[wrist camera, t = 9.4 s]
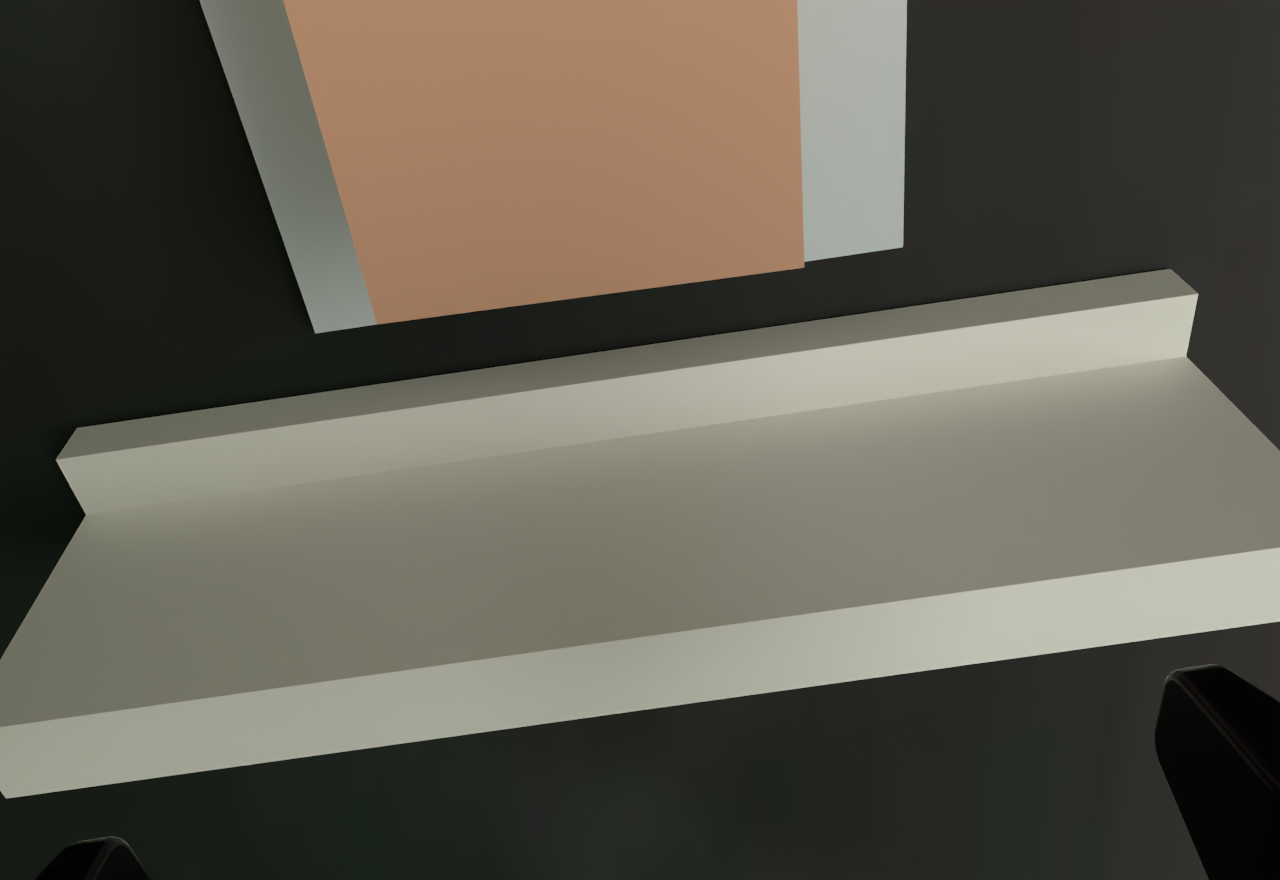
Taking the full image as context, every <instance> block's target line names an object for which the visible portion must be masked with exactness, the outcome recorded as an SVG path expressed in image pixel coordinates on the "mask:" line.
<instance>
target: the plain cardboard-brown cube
mask: <svg viewBox="0 0 1280 880" xmlns="http://www.w3.org/2000/svg"><path fill="white" fill-rule="evenodd" d="M283 2H284V6H285V9H286V12H287V16H288V19H289V23H290V26H291V30H292V33H293V37H294V40H295V43H296V47H297V50H298V54H299V57H300V61H301V64H302V68H303V71H304V74H305V78H306V81H307V85H308V88H309V92H310V95H311V98H312V102H313V105H314V109H315V112H316V116H317V119H318V123H319V126H320V129H321V133H322V136H323V140H324V143H325V147H326V150H327V154H328V157H329V160H330V164H331V167H332V171H333V174H334V178H335V181H336V184H337V188H338V191H339V195H340V198H341V202H342V205H343V209H344V212H345V215H346V219H347V222H348V226H349V229H350V233H351V236H352V240H353V243H354V246H355V250H356V253H357V257H358V260H359V264H360V267H361V270H362V274H363V277H364V281H365V284H366V288H367V291H368V295H369V298H370V301H371V305H372V308H373V312H374V315H375V319H376V322H377V324H385V323H392V322H400V321H407V320H415V319H422V318H430V317H437V316H445V315H452V314H460V313H467V312H475V311H482V310H490V309H497V308H505V307H512V306H520V305H527V304H535V303H542V302H550V301H557V300H565V299H572V298H580V297H587V296H595V295H602V294H610V293H617V292H625V291H632V290H640V289H647V288H655V287H662V286H670V285H677V284H685V283H692V282H700V281H707V280H715V279H722V278H730V277H737V276H745V275H752V274H760V273H768V272H775V271H783V270H790V269H798V268H804V234H803V197H802V159H801V122H800V85H799V48H798V11H797V0H283Z"/></svg>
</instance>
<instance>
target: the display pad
mask: <svg viewBox="0 0 1280 880" xmlns="http://www.w3.org/2000/svg"><path fill="white" fill-rule="evenodd" d="M199 1H200V3H201V6H202V9H203V12H204V15H205V18H206V21H207V24H208V26H209V29H210V32H211V35H212V38H213V41H214V44H215V47H216V49H217V52H218V55H219V58H220V61H221V64H222V67H223V69H224V72H225V75H226V78H227V81H228V84H229V87H230V90H231V92H232V95H233V98H234V101H235V104H236V107H237V110H238V113H239V115H240V118H241V121H242V124H243V127H244V130H245V133H246V136H247V138H248V141H249V144H250V147H251V150H252V153H253V156H254V159H255V161H256V164H257V167H258V170H259V173H260V176H261V179H262V182H263V184H264V187H265V190H266V193H267V196H268V199H269V202H270V205H271V207H272V210H273V213H274V216H275V219H276V222H277V225H278V228H279V230H280V233H281V236H282V239H283V242H284V245H285V248H286V251H287V253H288V256H289V259H290V262H291V265H292V268H293V271H294V274H295V276H296V279H297V282H298V285H299V288H300V291H301V294H302V297H303V299H304V302H305V305H306V308H307V311H308V314H309V317H310V320H311V322H312V325H313V328H314V331H315V333H322V332H329V331H335V330H342V329H349V328H356V327H363V326H369V325H376V324H377V322H376V319H375V315H374V312H373V308H372V305H371V301H370V298H369V295H368V291H367V288H366V284H365V281H364V277H363V274H362V270H361V267H360V264H359V260H358V257H357V253H356V250H355V246H354V243H353V240H352V236H351V233H350V229H349V226H348V222H347V219H346V215H345V212H344V209H343V205H342V202H341V198H340V195H339V191H338V188H337V184H336V181H335V178H334V174H333V171H332V167H331V164H330V160H329V157H328V154H327V150H326V147H325V143H324V140H323V136H322V133H321V129H320V126H319V123H318V119H317V116H316V112H315V109H314V105H313V102H312V98H311V95H310V92H309V88H308V85H307V81H306V78H305V74H304V71H303V68H302V64H301V61H300V57H299V54H298V50H297V47H296V43H295V40H294V37H293V33H292V30H291V26H290V23H289V19H288V16H287V12H286V9H285V6H284V2H283V0H199ZM797 11H798V48H799V85H800V122H801V159H802V197H803V234H804V262H806V261H812V260H819V259H826V258H833V257H840V256H846V255H853V254H860V253H867V252H874V251H880V250H887V249H894V248H901V247H903V220H904V156H905V91H906V26H907V0H797Z"/></svg>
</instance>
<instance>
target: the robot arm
mask: <svg viewBox="0 0 1280 880" xmlns="http://www.w3.org/2000/svg"><path fill="white" fill-rule="evenodd" d="M1155 747H1156V752H1157V756H1158V759H1159V762H1160V765H1161V767H1162V769H1163V772H1164V774H1165V777H1166V779H1167V781H1168V784H1169V786H1170V788H1171V791H1172V793H1173V796H1174V798H1175V800H1176V803H1177V805H1178V807H1179V810H1180V812H1181V814H1182V817H1183V819H1184V822H1185V824H1186V826H1187V829H1188V831H1189V833H1190V836H1191V838H1192V841H1193V843H1194V845H1195V848H1196V850H1197V852H1198V855H1199V857H1200V860H1201V862H1202V864H1203V867H1204V869H1205V871H1206V874H1207V876H1208V879H1209V880H1280V701H1278V700H1277V699H1275V698H1274V697H1272V696H1271V695H1269V694H1267V693H1266V692H1264V691H1263V690H1261V689H1260V688H1258V687H1257V686H1255V685H1253V684H1252V683H1250V682H1249V681H1247V680H1246V679H1244V678H1242V677H1241V676H1239V675H1238V674H1236V673H1235V672H1233V671H1231V670H1230V669H1228V668H1226V667H1223V666H1220V665H1216V664H1208V665H1202V666H1196V667H1189V668H1183V669H1177V670H1174V671H1172V672H1171V673H1170V674H1169V675H1168V676H1167V677H1166V680H1165V683H1164V687H1163V693H1162V698H1161V703H1160V708H1159V713H1158V718H1157V724H1156V729H1155ZM35 880H152V878H151V877H150V876H149V874H148V873H147V871H146V870H145V868H144V867H143V865H142V864H141V862H140V861H139V859H138V858H137V856H136V855H135V854H134V852H133V851H132V849H131V848H130V846H129V845H128V844H127V842H126V841H125V840H123V839H121V838H119V837H115V836H110V837H104V838H98V839H91V840H85V841H79V842H76V843H73V844H71V845H69V846H68V847H66V848H65V849H64V850H62V851H61V852H60V853H59V854H58V855H57V856H56V857H55V858H54V859H53V860H52V862H51V863H50V864H49V865H48V866H47V867H46V868H45V869H44V870H43V871H42V872H41V873H40V874H39V875H38V877H37V878H36V879H35Z"/></svg>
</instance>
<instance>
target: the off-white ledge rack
mask: <svg viewBox="0 0 1280 880" xmlns="http://www.w3.org/2000/svg"><path fill="white" fill-rule="evenodd" d="M1197 298H1198V293H1197V292H1196V291H1195V290H1193V289H1192V288H1191V287H1190V286H1189V285H1188V284H1187V283H1186V282H1185V281H1183V280H1182V279H1181V278H1180V277H1179V276H1178V275H1177V274H1176V273H1174V272H1173V271H1172V270H1171V269H1165V270H1158V271H1151V272H1144V273H1137V274H1131V275H1124V276H1117V277H1110V278H1103V279H1096V280H1089V281H1082V282H1076V283H1069V284H1062V285H1055V286H1048V287H1041V288H1034V289H1028V290H1021V291H1014V292H1007V293H1000V294H993V295H986V296H979V297H973V298H966V299H959V300H952V301H945V302H938V303H931V304H925V305H918V306H911V307H904V308H897V309H890V310H883V311H877V312H870V313H863V314H856V315H849V316H842V317H835V318H828V319H822V320H815V321H808V322H801V323H794V324H787V325H780V326H774V327H767V328H760V329H753V330H746V331H739V332H732V333H726V334H719V335H712V336H705V337H698V338H691V339H684V340H677V341H671V342H664V343H657V344H650V345H643V346H636V347H629V348H623V349H616V350H609V351H602V352H595V353H588V354H581V355H574V356H568V357H561V358H554V359H547V360H540V361H533V362H526V363H520V364H513V365H506V366H499V367H492V368H485V369H478V370H472V371H465V372H458V373H451V374H444V375H437V376H430V377H423V378H417V379H410V380H403V381H396V382H389V383H382V384H375V385H369V386H362V387H355V388H348V389H341V390H334V391H327V392H321V393H314V394H307V395H300V396H293V397H286V398H279V399H272V400H266V401H259V402H252V403H245V404H238V405H231V406H224V407H218V408H211V409H204V410H197V411H190V412H183V413H176V414H169V415H163V416H156V417H149V418H142V419H135V420H128V421H121V422H115V423H108V424H101V425H94V426H87V427H80V428H77V429H76V430H75V432H74V433H73V435H72V436H71V438H70V439H69V441H68V442H67V444H66V445H65V446H64V448H63V449H62V451H61V452H60V454H59V455H58V457H57V458H56V461H57V463H58V465H59V467H60V469H61V470H62V472H63V474H64V476H65V478H66V479H67V481H68V483H69V485H70V487H71V489H72V490H73V492H74V494H75V496H76V498H77V499H78V501H79V503H80V505H81V507H82V508H83V510H84V512H85V514H86V516H85V518H84V519H83V521H82V523H81V524H80V526H79V528H78V529H77V531H76V533H75V534H74V536H73V538H72V539H71V541H70V543H69V545H68V546H67V548H66V550H65V551H64V553H63V555H62V556H61V558H60V560H59V561H58V563H57V565H56V567H55V568H54V570H53V572H52V573H51V575H50V577H49V578H48V580H47V582H46V583H45V585H44V587H43V588H42V590H41V592H40V594H39V595H38V597H37V599H36V600H35V602H34V604H33V605H32V607H31V609H30V610H29V612H28V614H27V615H26V617H25V619H24V621H23V622H22V624H21V626H20V627H19V629H18V631H17V632H16V634H15V636H14V637H13V639H12V641H11V643H10V644H9V646H8V648H7V649H6V651H5V653H4V654H3V656H2V658H1V659H0V791H1V792H2V794H3V795H4V796H5V798H14V797H21V796H28V795H35V794H42V793H50V792H57V791H64V790H71V789H78V788H86V787H93V786H100V785H107V784H114V783H121V782H129V781H136V780H143V779H150V778H157V777H165V776H172V775H179V774H186V773H193V772H201V771H208V770H215V769H222V768H229V767H236V766H244V765H251V764H258V763H265V762H272V761H280V760H287V759H294V758H301V757H308V756H316V755H323V754H330V753H337V752H344V751H351V750H359V749H366V748H373V747H380V746H387V745H395V744H402V743H409V742H416V741H423V740H431V739H438V738H445V737H452V736H459V735H466V734H474V733H481V732H488V731H495V730H502V729H510V728H517V727H524V726H531V725H538V724H546V723H553V722H560V721H567V720H574V719H581V718H589V717H596V716H603V715H610V714H617V713H625V712H632V711H639V710H646V709H653V708H660V707H668V706H675V705H682V704H689V703H696V702H704V701H711V700H718V699H725V698H732V697H740V696H747V695H754V694H761V693H768V692H775V691H783V690H790V689H797V688H804V687H811V686H819V685H826V684H833V683H840V682H847V681H855V680H862V679H869V678H876V677H883V676H890V675H898V674H905V673H912V672H919V671H926V670H934V669H941V668H948V667H955V666H962V665H970V664H977V663H984V662H991V661H998V660H1005V659H1013V658H1020V657H1027V656H1034V655H1041V654H1049V653H1056V652H1063V651H1070V650H1077V649H1085V648H1092V647H1099V646H1106V645H1113V644H1120V643H1128V642H1135V641H1142V640H1149V639H1156V638H1164V637H1171V636H1178V635H1185V634H1192V633H1200V632H1207V631H1214V630H1221V629H1228V628H1235V627H1243V626H1250V625H1257V624H1264V623H1271V622H1279V621H1280V451H1279V450H1278V449H1277V448H1276V447H1275V446H1274V445H1273V444H1272V443H1271V442H1270V441H1269V440H1268V439H1267V438H1266V437H1265V436H1264V435H1263V434H1262V433H1261V431H1260V430H1259V429H1258V428H1257V427H1256V426H1255V425H1254V424H1253V423H1252V422H1251V421H1250V420H1249V419H1248V418H1247V417H1246V416H1245V415H1244V414H1243V413H1242V412H1241V411H1240V410H1239V409H1238V408H1237V407H1236V406H1235V405H1234V404H1233V403H1232V402H1231V401H1230V400H1229V399H1228V398H1227V397H1226V396H1225V395H1224V394H1223V393H1222V392H1221V391H1220V390H1219V389H1218V388H1217V387H1216V386H1215V385H1214V384H1213V383H1212V382H1211V381H1210V380H1209V379H1208V378H1207V377H1206V376H1205V375H1204V374H1203V373H1202V372H1201V371H1200V370H1199V369H1198V368H1197V367H1196V366H1195V365H1194V364H1193V363H1192V362H1191V361H1190V360H1189V359H1188V358H1187V357H1186V354H1187V349H1188V344H1189V339H1190V334H1191V329H1192V323H1193V318H1194V313H1195V308H1196V303H1197Z"/></svg>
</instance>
